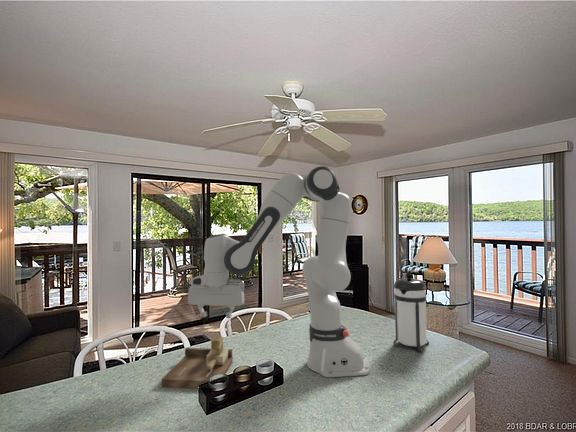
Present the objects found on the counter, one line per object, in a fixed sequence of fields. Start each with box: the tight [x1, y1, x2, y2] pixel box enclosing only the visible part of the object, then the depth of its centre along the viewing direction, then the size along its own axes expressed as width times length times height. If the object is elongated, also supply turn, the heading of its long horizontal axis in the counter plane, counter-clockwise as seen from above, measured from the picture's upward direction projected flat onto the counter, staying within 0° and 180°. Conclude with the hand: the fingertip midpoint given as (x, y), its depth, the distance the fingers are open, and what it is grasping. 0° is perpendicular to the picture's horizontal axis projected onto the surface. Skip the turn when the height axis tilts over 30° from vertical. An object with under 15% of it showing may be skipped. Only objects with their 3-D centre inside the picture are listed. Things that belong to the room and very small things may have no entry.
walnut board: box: [161, 347, 233, 390], centre depth 104 cm, size 18×18×5 cm
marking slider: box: [206, 335, 229, 372], centre depth 105 cm, size 6×12×8 cm, turn 174°
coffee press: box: [392, 272, 430, 353], centre depth 127 cm, size 17×16×30 cm
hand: (216, 317), depth 108 cm, fingers open, 8 cm apart
